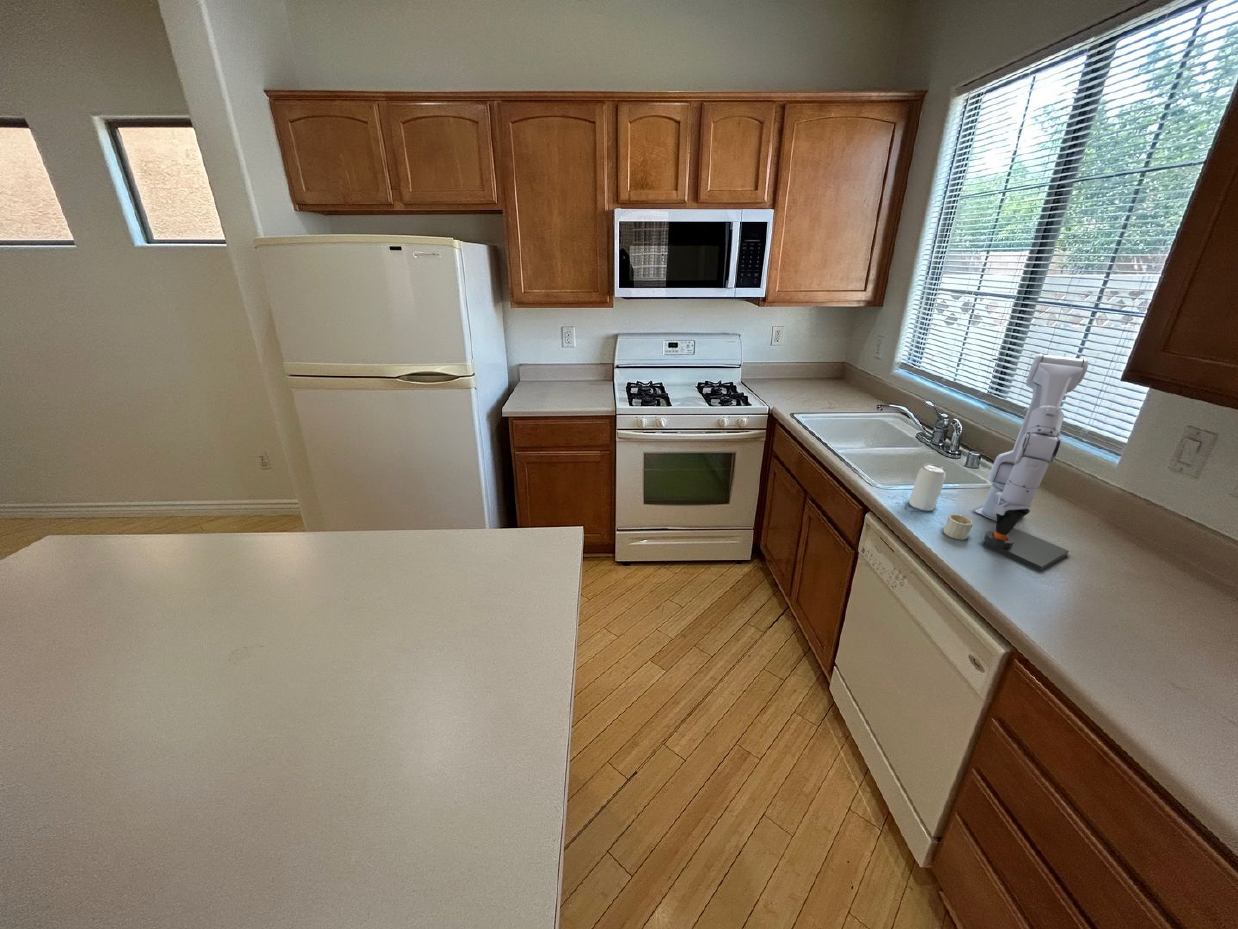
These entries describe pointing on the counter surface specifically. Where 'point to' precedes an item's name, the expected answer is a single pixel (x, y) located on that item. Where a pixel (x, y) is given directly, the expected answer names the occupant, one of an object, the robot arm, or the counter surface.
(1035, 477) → the robot arm
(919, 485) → the can
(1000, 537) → the tare button
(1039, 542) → the scale
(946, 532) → the bowl
